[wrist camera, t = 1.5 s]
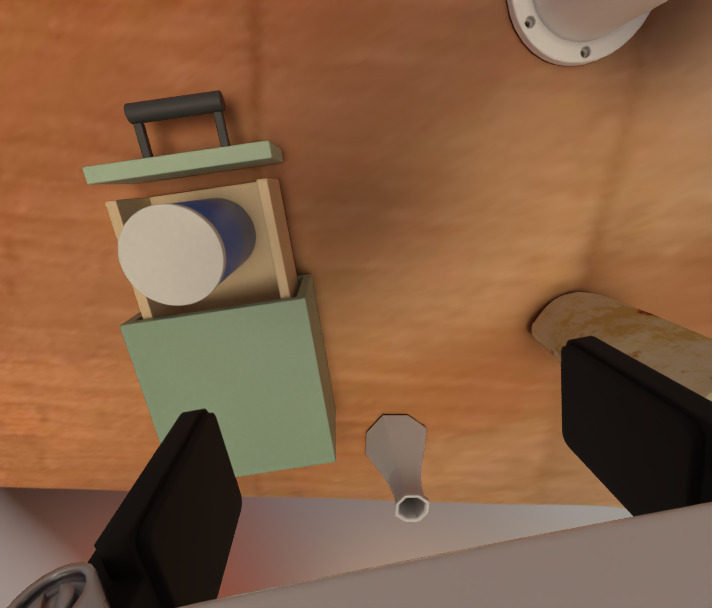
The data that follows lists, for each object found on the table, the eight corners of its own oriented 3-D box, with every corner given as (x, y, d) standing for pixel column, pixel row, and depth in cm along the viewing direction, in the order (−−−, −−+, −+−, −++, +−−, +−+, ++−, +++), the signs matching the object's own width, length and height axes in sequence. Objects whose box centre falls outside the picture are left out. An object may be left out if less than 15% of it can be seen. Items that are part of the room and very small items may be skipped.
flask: (355, 456, 45) (360, 529, 36) (377, 405, 43) (390, 467, 34) (411, 472, 46) (432, 547, 37) (436, 422, 45) (464, 488, 35)
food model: (524, 353, 42) (679, 493, 23) (522, 295, 40) (690, 396, 21) (613, 338, 42) (839, 465, 23) (615, 279, 40) (865, 366, 21)
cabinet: (165, 295, 38) (119, 325, 30) (311, 273, 39) (305, 298, 30) (205, 428, 43) (175, 486, 35) (335, 409, 43) (335, 461, 35)
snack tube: (174, 202, 34) (102, 212, 24) (247, 192, 34) (209, 196, 24) (193, 274, 36) (135, 312, 25) (263, 264, 36) (234, 298, 26)
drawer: (114, 118, 33) (59, 103, 26) (271, 96, 33) (256, 75, 26) (175, 323, 38) (143, 352, 32) (309, 303, 39) (304, 328, 32)
